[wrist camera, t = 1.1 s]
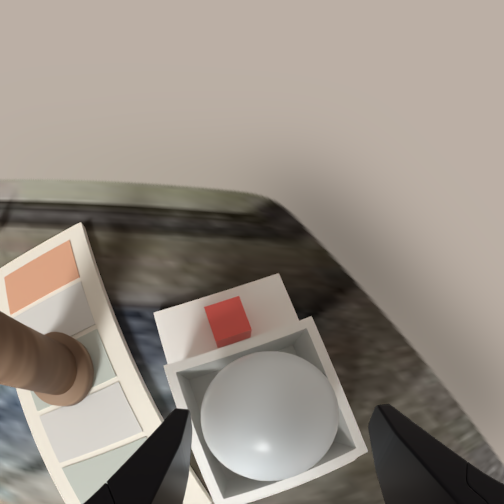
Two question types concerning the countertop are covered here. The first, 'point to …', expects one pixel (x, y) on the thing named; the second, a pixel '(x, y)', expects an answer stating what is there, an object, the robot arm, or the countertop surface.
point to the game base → (236, 346)
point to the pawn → (44, 363)
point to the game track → (104, 362)
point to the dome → (269, 416)
